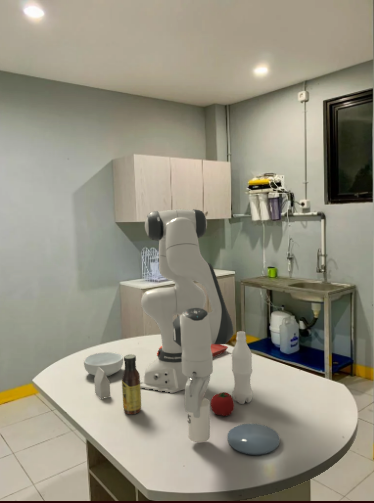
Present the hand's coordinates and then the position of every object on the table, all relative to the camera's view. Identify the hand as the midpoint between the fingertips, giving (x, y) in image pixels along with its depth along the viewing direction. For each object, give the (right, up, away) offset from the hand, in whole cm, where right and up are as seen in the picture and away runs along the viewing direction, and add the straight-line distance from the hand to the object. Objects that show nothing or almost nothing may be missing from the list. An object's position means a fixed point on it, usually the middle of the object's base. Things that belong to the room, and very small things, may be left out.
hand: (198, 411), depth 117 cm
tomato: (+9, -8, +19) cm, 22 cm away
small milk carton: (-36, -8, +37) cm, 52 cm away
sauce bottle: (-22, -9, +23) cm, 33 cm away
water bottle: (+17, -7, +27) cm, 33 cm away
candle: (0, -8, +1) cm, 8 cm away
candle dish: (+16, -9, +1) cm, 19 cm away
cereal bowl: (-39, -7, +58) cm, 70 cm away
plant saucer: (+4, -4, +79) cm, 79 cm away
